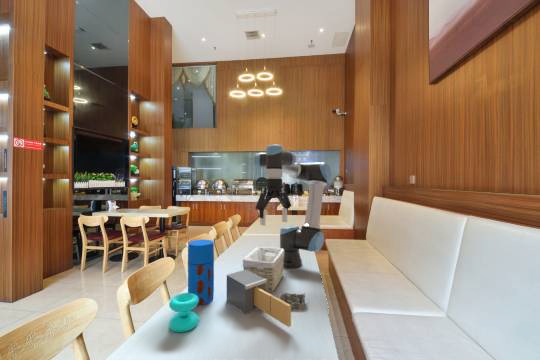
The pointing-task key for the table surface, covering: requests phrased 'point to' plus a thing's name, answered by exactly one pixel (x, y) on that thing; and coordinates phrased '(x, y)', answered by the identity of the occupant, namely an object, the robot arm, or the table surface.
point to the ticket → (272, 306)
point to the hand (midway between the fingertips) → (274, 223)
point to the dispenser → (243, 289)
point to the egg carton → (294, 299)
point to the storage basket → (266, 265)
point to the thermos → (201, 270)
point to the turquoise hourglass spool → (184, 312)
